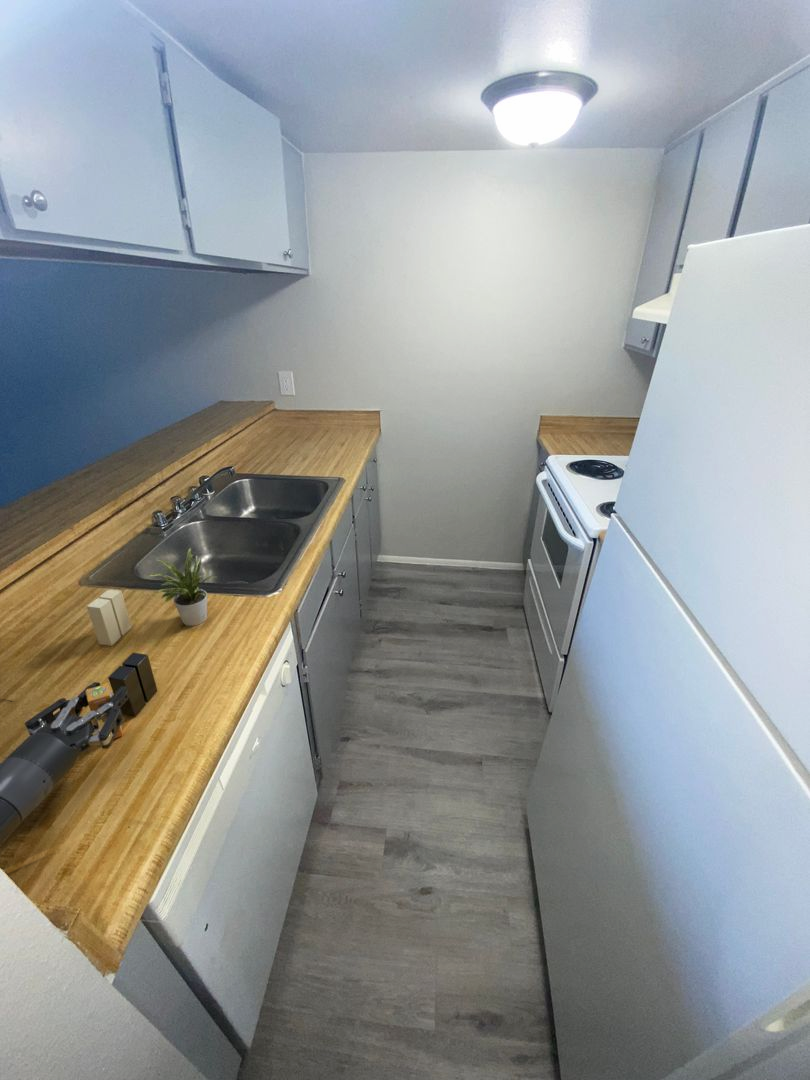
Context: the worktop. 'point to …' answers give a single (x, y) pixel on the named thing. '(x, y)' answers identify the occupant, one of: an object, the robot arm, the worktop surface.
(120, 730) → the supplement box
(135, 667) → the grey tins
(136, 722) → the worktop surface
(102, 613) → the cream boxes
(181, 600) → the house plant
